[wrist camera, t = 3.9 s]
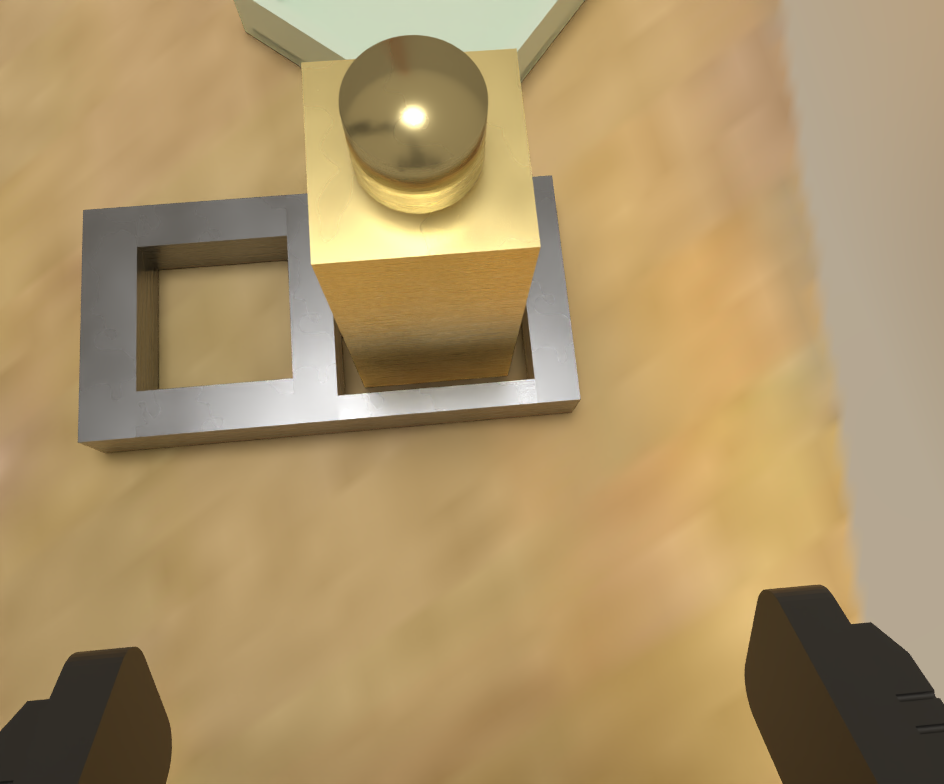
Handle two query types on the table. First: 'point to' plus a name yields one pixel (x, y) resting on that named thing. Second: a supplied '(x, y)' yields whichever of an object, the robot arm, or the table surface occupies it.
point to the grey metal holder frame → (312, 334)
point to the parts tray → (405, 25)
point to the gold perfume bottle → (421, 207)
